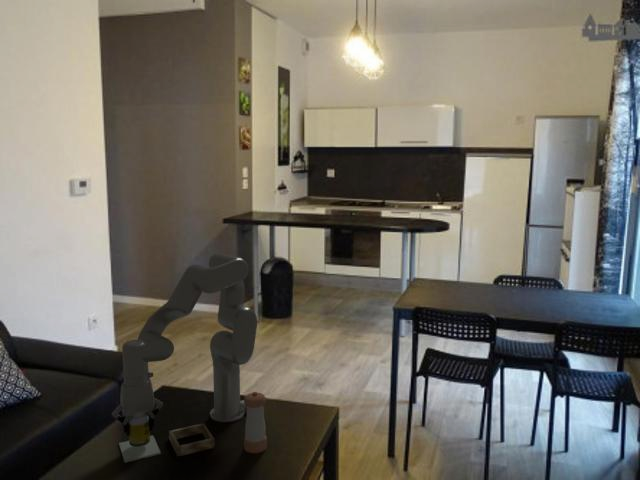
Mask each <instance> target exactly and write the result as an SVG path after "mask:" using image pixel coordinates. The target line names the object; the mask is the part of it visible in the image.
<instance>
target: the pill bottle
mask: <svg viewBox="0 0 640 480" xmlns="http://www.w3.org/2000/svg"><path fill="white" fill-rule="evenodd" d="M128 423H129V433H130V435H129V436H128V441H129V444H130V445H131V446H132V447H143V446H145V445H147V444H148V443H149V442H150V436H151V434H150V433H151V430H150V427H149V414H148V413H147V414H146V413H143V412H138V413H136V414H135V415H132V416H130V417H129V420H128Z"/></svg>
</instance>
